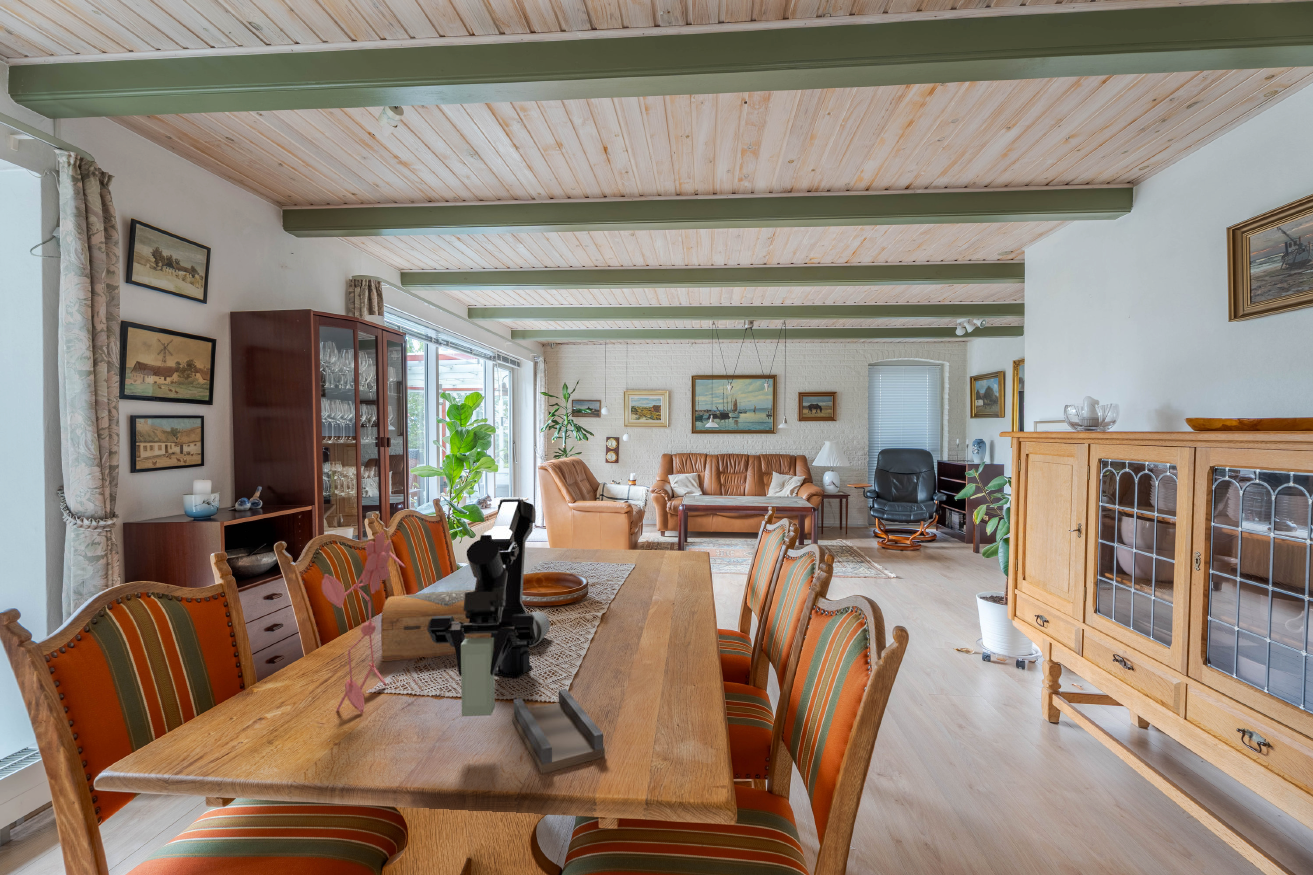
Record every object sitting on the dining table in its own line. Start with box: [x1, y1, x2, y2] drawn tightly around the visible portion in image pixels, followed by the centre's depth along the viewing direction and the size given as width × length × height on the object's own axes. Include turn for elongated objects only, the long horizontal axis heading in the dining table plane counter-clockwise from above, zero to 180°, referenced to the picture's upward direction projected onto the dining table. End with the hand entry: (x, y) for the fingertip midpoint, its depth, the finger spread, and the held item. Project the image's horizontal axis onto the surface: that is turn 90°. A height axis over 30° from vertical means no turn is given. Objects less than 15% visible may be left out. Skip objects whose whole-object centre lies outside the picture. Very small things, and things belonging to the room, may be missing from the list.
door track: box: [511, 688, 606, 775], centre depth 108 cm, size 20×11×4 cm, turn 27°
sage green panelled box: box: [460, 638, 496, 717], centre depth 104 cm, size 3×5×12 cm, turn 93°
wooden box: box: [380, 589, 495, 662], centre depth 155 cm, size 30×16×14 cm, turn 103°
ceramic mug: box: [529, 611, 551, 648], centre depth 157 cm, size 11×8×8 cm
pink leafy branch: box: [315, 530, 424, 725], centre depth 123 cm, size 15×26×35 cm, turn 0°
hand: (476, 674), depth 103 cm, fingers closed on sage green panelled box, 5 cm apart
